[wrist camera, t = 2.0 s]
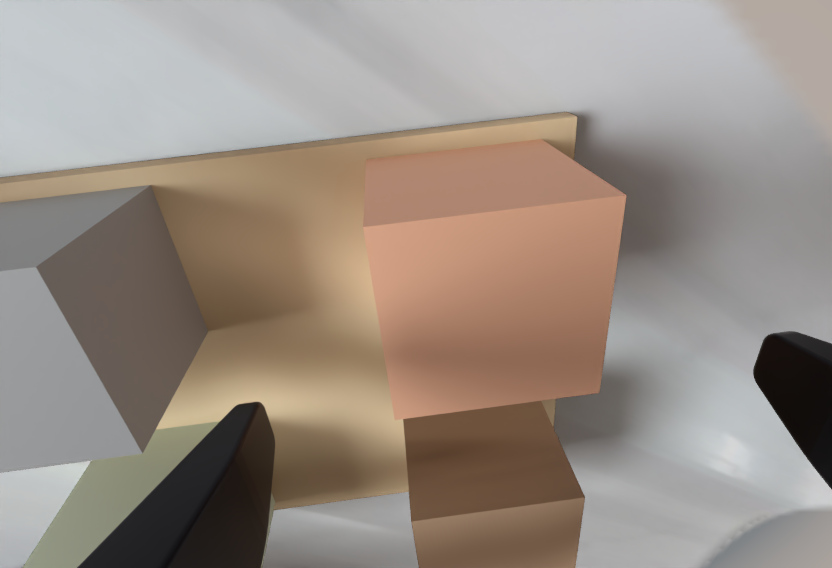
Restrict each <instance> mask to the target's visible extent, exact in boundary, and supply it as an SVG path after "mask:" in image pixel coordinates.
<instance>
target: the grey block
mask: <svg viewBox="0 0 832 568" xmlns="http://www.w3.org/2000/svg"><path fill="white" fill-rule="evenodd" d="M207 333H208V330H207V327H206V324H205V322H204V319H203V317H202V314H201V312H200V309H199V307H198V304H197V301H196V299H195V296H194V294H193V291H192V289H191V286H190V284H189V281H188V279H187V276H186V273H185V271H184V268H183V266H182V263H181V261H180V258H179V256H178V253H177V251H176V248H175V245H174V243H173V240H172V238H171V235H170V233H169V230H168V228H167V225H166V223H165V220H164V217H163V215H162V212H161V210H160V207H159V205H158V202H157V200H156V197H155V195H154V192H153V189H152V187H151V185H146V186H137V187H129V188H120V189H112V190H103V191H95V192H86V193H78V194H69V195H61V196H52V197H44V198H35V199H27V200H18V201H10V202H1V203H0V473H1V472H9V471H16V470H24V469H31V468H39V467H46V466H54V465H61V464H69V463H76V462H84V461H91V460H99V459H106V458H114V457H121V456H129V455H137V454H143V452H144V450H145V448H146V447H147V445H148V443H149V441H150V439H151V437H152V435H153V433H154V432H155V430H156V428H157V426H158V424H159V422H160V420H161V419H162V417H163V415H164V413H165V411H166V409H167V407H168V406H169V404H170V402H171V400H172V398H173V396H174V394H175V393H176V391H177V389H178V387H179V385H180V383H181V381H182V379H183V378H184V376H185V374H186V372H187V370H188V368H189V366H190V365H191V363H192V361H193V359H194V357H195V355H196V353H197V352H198V350H199V348H200V346H201V344H202V342H203V340H204V339H205V337H206V335H207Z"/></svg>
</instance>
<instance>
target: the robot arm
mask: <svg viewBox="0 0 832 568" xmlns="http://www.w3.org/2000/svg"><path fill="white" fill-rule="evenodd" d="M753 374H754V379H755V381H756V383H757V385H758V386H759V388H760V389H761V391H762V392H763V394H764V395H765V397H766V398H767V400H768V401H769V403H770V404H771V406H772V407H773V409H774V410H775V412H776V413H777V415H778V416H779V418H780V419H781V421H782V422H783V424H784V425H785V427H786V428H787V430H788V431H789V433H790V434H791V436H792V437H793V439H794V440H795V442H796V443H797V445H798V446H799V448H800V449H801V450H802V452H803V453H804V455H805V456H806V457H807V459H808V460H809V461H810V463H811V464H812V465H813V467H814V468H815V469H816V471H817V472H818V473H819V474H820V476H821V477H822V478H823V479H824V480H825V482H826V483H827V484H828V485H829V487H830V488H831V489H832V344H831V343H828V342H825V341H822V340H819V339H816V338H813V337H810V336H807V335H804V334H801V333H798V332H793V331H788V332H780V333H773V334H770V335H768V336H767V337H766V338H765V339H764V340H763V343H762V346H761V349H760V351H759V354H758V357H757V360H756V363H755V366H754V369H753ZM274 457H275V437H274V433H273V430H272V427H271V424H270V421H269V418H268V416H267V413H266V410H265V407H264V405H263V404H262V403H261V402H250V403H243V404H238V405H236V406H235V407H234V408H233V409H232V410H231V411H230V412H229V413H228V414H227V415H226V416H225V417H224V418H223V419H222V420H221V421H220V422H219V423H218V424H217V425H216V426H215V427H214V428H213V429H212V430H211V431H210V432H209V433H208V434H207V435H206V436H205V437H204V438H203V439H202V440H201V441H200V442H199V443H198V444H197V445H196V446H195V447H194V449H193V450H192V451H191V452H190V453H189V454H188V455H187V456H186V457H185V458H184V459H183V460H182V461H181V462H180V463H179V464H178V465H177V466H176V467H175V468H174V469H173V470H172V471H171V472H170V473H169V474H168V475H167V476H166V477H165V478H164V479H163V480H162V481H161V482H160V483H159V484H158V485H157V486H156V487H155V488H154V489H153V490H152V491H151V492H150V493H149V494H148V495H147V496H146V498H145V499H144V500H143V501H142V502H141V503H140V504H139V505H138V506H137V507H136V508H135V509H134V510H133V511H132V512H131V513H130V514H129V515H128V516H127V517H126V518H125V519H124V520H123V521H122V522H121V523H120V524H119V525H118V526H117V527H116V528H115V529H114V530H113V531H112V532H111V533H110V534H109V535H108V536H107V537H106V538H105V539H104V540H103V541H102V542H101V543H100V544H99V545H98V547H97V548H96V549H95V550H94V551H93V552H92V553H91V554H90V555H89V556H88V557H87V558H86V559H85V560H84V561H83V562H82V563H81V564H80V565H79V566H78V567H77V568H261V565H262V560H263V555H264V550H265V544H266V539H267V532H268V523H269V513H270V502H271V490H272V479H273V468H274Z"/></svg>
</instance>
